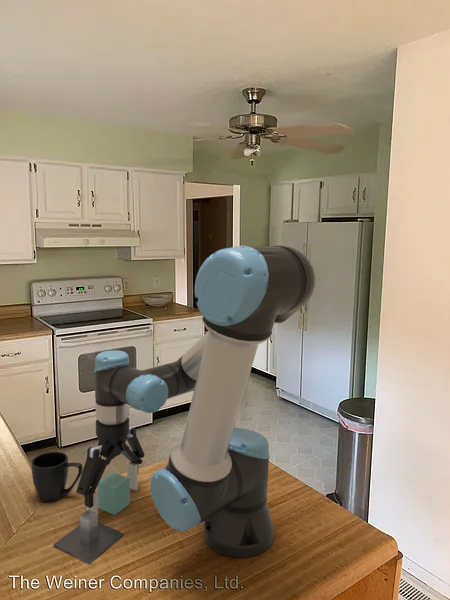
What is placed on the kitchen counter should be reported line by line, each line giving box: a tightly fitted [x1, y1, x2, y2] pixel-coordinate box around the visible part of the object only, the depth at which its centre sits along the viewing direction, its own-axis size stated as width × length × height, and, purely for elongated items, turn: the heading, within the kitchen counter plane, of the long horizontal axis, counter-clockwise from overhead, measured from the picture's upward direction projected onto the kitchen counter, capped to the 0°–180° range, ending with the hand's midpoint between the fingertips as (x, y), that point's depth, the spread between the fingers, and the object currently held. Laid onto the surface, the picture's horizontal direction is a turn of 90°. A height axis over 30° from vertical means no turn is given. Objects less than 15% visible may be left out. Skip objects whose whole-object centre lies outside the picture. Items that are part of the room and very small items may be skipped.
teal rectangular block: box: [96, 471, 131, 516], centre depth 110 cm, size 5×5×7 cm
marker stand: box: [53, 510, 125, 565], centre depth 98 cm, size 10×10×6 cm
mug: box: [31, 451, 84, 503], centre depth 113 cm, size 8×12×10 cm
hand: (113, 502), depth 111 cm, fingers open, 13 cm apart
